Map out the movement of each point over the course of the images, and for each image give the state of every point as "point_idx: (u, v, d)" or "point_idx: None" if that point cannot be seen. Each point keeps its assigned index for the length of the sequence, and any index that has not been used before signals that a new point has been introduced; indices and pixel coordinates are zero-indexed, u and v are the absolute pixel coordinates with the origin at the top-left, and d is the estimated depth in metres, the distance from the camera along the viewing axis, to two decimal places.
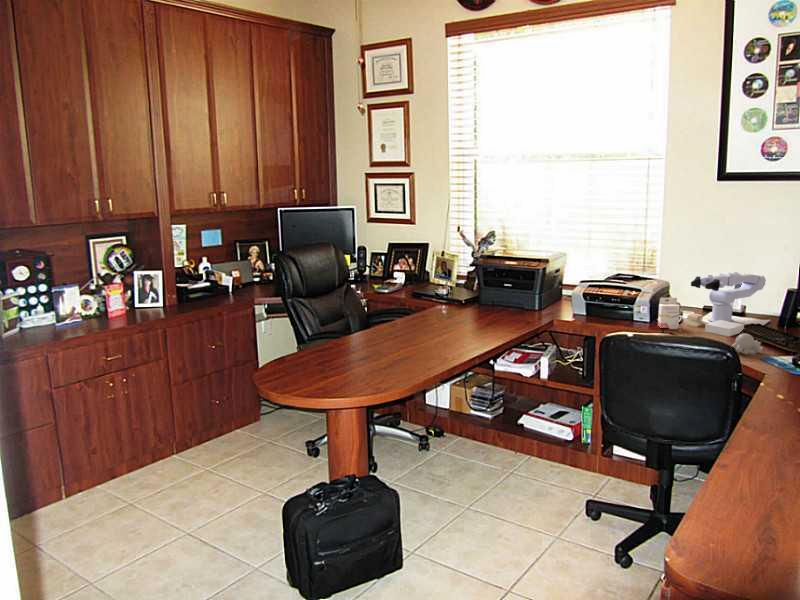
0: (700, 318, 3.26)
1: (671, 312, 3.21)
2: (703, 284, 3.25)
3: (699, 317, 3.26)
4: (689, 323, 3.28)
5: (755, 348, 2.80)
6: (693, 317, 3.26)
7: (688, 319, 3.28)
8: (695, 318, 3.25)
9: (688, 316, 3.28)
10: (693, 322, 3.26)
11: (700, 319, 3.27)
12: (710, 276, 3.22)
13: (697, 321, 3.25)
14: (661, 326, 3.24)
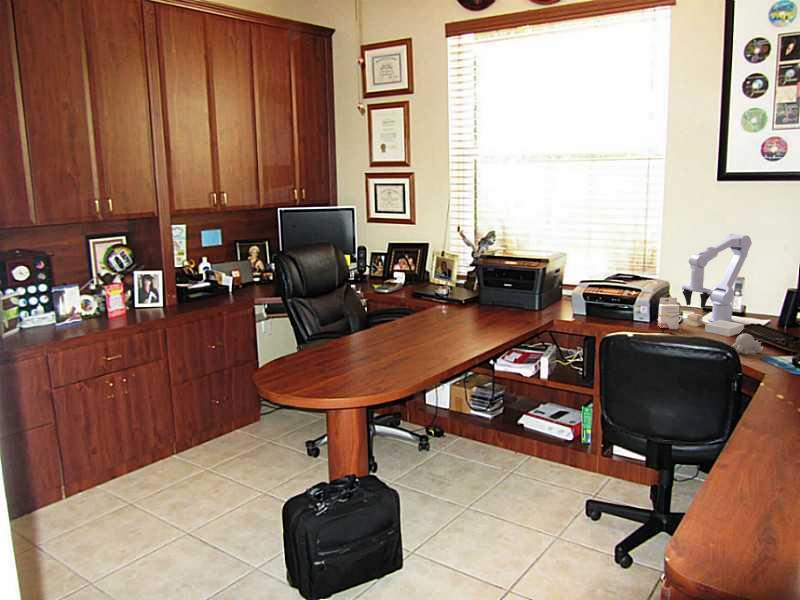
0: (700, 318, 3.26)
1: (671, 312, 3.21)
2: None
3: (699, 317, 3.26)
4: (689, 323, 3.28)
5: (755, 348, 2.80)
6: (693, 317, 3.26)
7: (688, 319, 3.28)
8: (695, 318, 3.25)
9: (688, 316, 3.28)
10: (693, 322, 3.26)
11: (700, 319, 3.27)
12: None
13: (697, 321, 3.25)
14: (661, 326, 3.24)
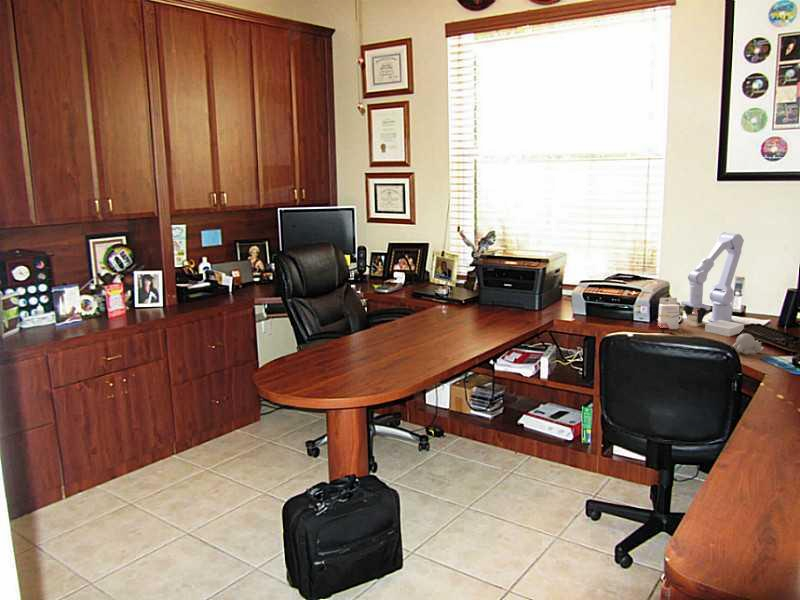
0: None
1: (671, 312, 3.21)
2: None
3: None
4: (689, 323, 3.28)
5: (756, 348, 2.80)
6: (693, 317, 3.26)
7: (688, 319, 3.28)
8: (695, 318, 3.25)
9: (688, 316, 3.28)
10: (693, 322, 3.26)
11: None
12: None
13: (697, 321, 3.25)
14: (661, 326, 3.24)
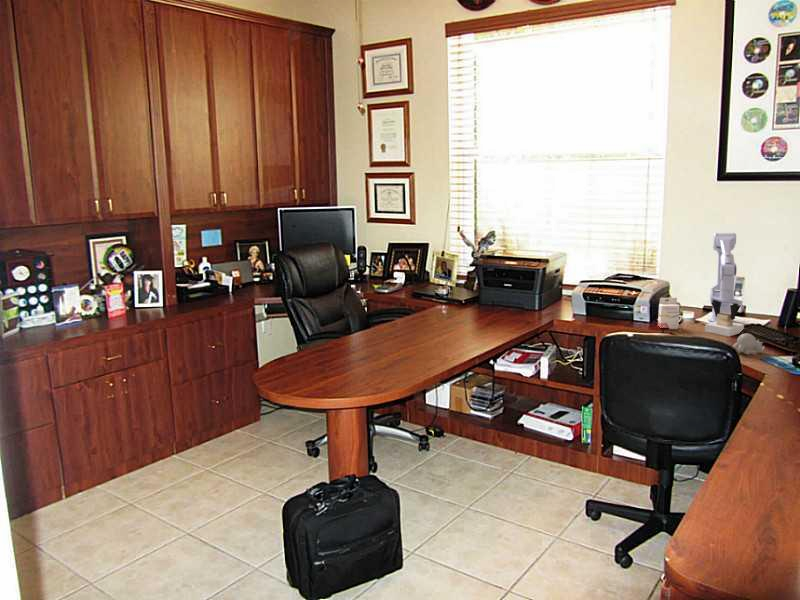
0: None
1: (671, 312, 3.21)
2: None
3: (730, 316, 3.11)
4: (719, 322, 3.14)
5: (757, 348, 2.80)
6: (723, 316, 3.12)
7: (718, 318, 3.14)
8: (725, 317, 3.11)
9: (718, 315, 3.14)
10: (723, 321, 3.12)
11: None
12: None
13: (727, 320, 3.11)
14: (661, 326, 3.24)
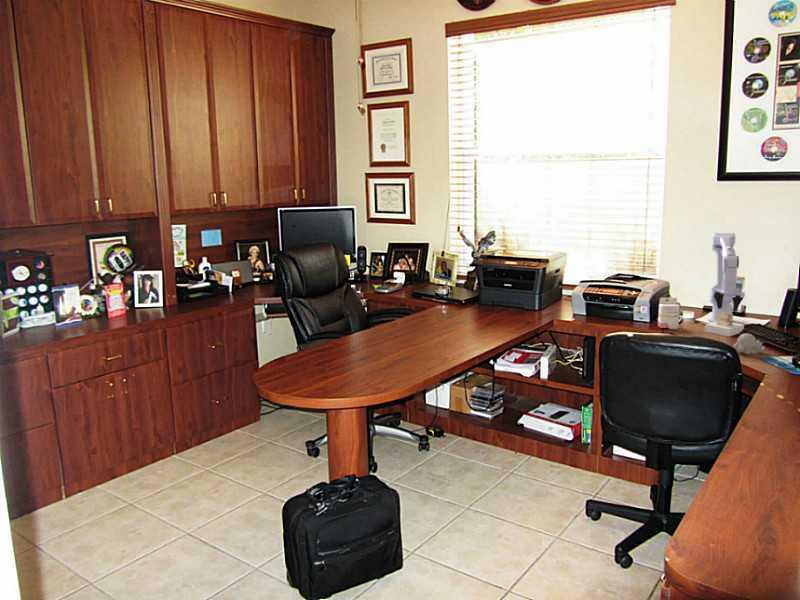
0: (730, 317, 3.12)
1: (671, 312, 3.21)
2: None
3: (729, 316, 3.12)
4: (719, 322, 3.14)
5: (757, 348, 2.80)
6: (723, 316, 3.12)
7: (718, 318, 3.14)
8: (725, 317, 3.11)
9: (718, 315, 3.14)
10: (723, 321, 3.12)
11: (730, 318, 3.12)
12: (724, 293, 3.10)
13: (727, 320, 3.11)
14: (661, 326, 3.24)
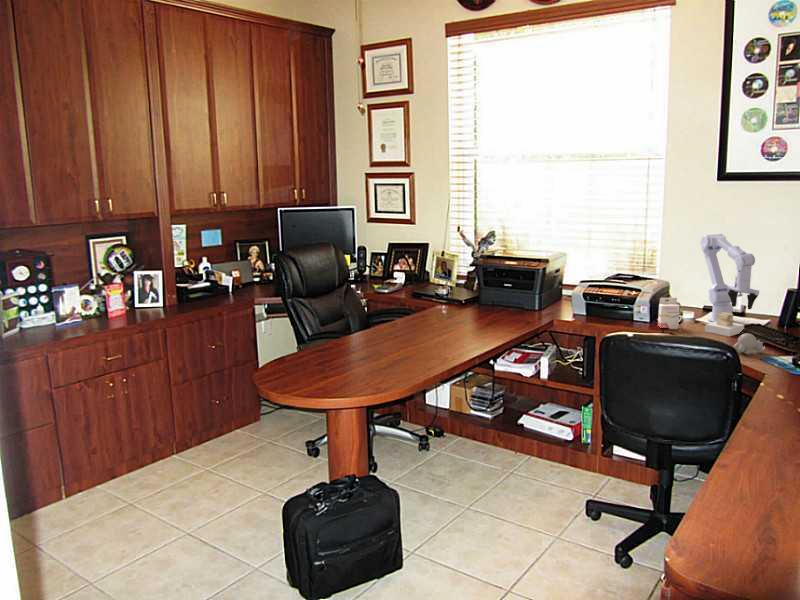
0: (730, 317, 3.12)
1: (671, 312, 3.21)
2: None
3: (729, 316, 3.12)
4: (719, 322, 3.14)
5: (757, 348, 2.80)
6: (723, 316, 3.12)
7: (718, 318, 3.14)
8: (725, 317, 3.11)
9: (718, 315, 3.14)
10: (723, 321, 3.12)
11: (730, 318, 3.12)
12: (739, 291, 3.13)
13: (727, 320, 3.11)
14: (661, 326, 3.24)
